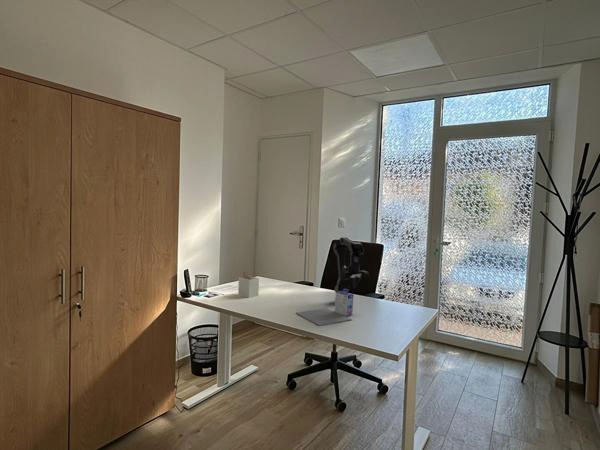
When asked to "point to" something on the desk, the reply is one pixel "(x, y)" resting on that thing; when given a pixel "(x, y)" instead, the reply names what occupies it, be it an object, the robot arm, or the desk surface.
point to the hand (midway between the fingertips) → (354, 288)
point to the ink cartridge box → (344, 303)
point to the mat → (323, 316)
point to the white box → (248, 286)
